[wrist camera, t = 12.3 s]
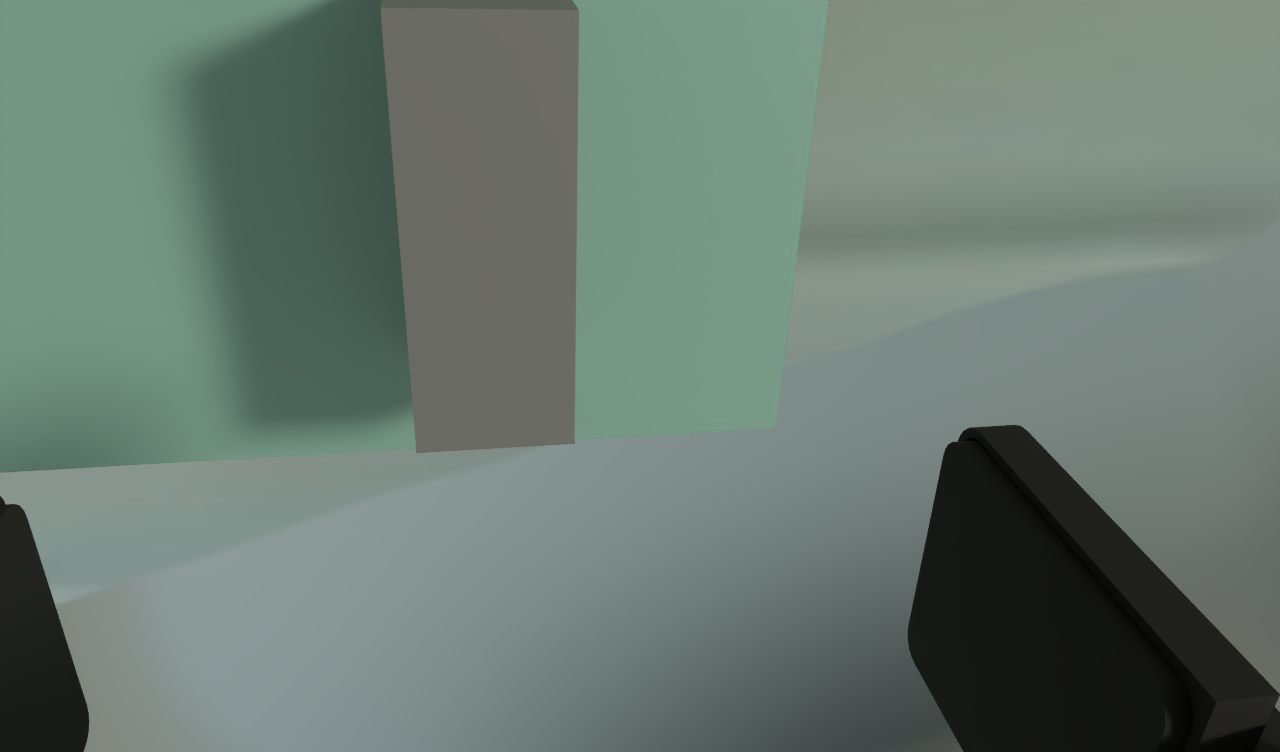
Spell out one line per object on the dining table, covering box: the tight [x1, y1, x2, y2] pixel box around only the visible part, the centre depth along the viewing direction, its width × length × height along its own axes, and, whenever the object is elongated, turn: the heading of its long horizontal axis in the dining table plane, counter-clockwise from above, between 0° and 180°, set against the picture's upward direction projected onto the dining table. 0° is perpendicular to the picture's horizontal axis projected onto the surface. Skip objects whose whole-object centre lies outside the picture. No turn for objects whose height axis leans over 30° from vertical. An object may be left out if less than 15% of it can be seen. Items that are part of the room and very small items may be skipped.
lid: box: [0, 0, 829, 473], centre depth 19 cm, size 18×13×5 cm
